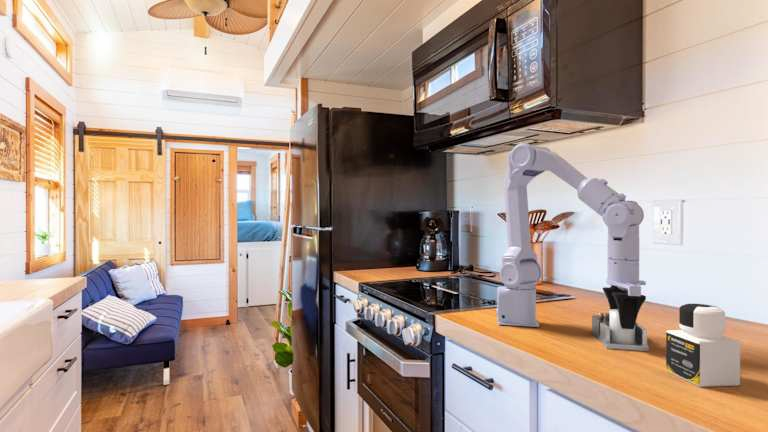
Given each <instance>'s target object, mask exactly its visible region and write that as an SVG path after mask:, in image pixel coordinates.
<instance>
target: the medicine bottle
mask: <svg viewBox="0 0 768 432" xmlns="http://www.w3.org/2000/svg"><path fill="white" fill-rule="evenodd" d="M665 334H666V335H665V336H666V337H665V338H666V339H665V345H666V346H665V352H666V353H665V355H666V356H665V357H666V358H665V370H666V372H668V373H670V374H672V375H674V376H676V377H678V378H680V379H681V380H684V381H686V382H688V383H691V384H692V385H695V386H696V387H699V388H706V387H708V388H709V387H710V388H711V387H732V386H733V387H735V386H736V387H738V386H740V384H741V342H740V340H738V339H735V338H732V337H729V336H725V334H726V312H725V311H724V310H723V309H722V308H720V307H717V306H716V305H712V304H711V305H710V304H704V303H703V304H702V303H686V304H683V305H681V306H679V329H668V330H666V333H665Z"/></svg>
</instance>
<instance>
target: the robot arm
mask: <svg viewBox="0 0 768 432" xmlns="http://www.w3.org/2000/svg"><path fill="white" fill-rule="evenodd" d="M546 171H548V172H550V173H551V174H554V175H555V176H556V177H558V178H559V179H560V180H563V181H564V182H565V183H566V184H568V185H569V186H571V187H572V188H574V189H575V190H576V191H577V198H578V200H580V201H581V202H583V203H584V204H585V205H586V206H587V207H589V208H590V209H591V210H593V211H594V212H595V213H596V214H598V215H599V216H600V217H602V221H603V223H604V224H605V226H606V228H607V277H606V284H607V285H609V287H602V290H603V292H604V294H605V297H606V299H607V302H608V305H609V310H611V309H618V312H619V320H620V325H621V328H622V329H634V326H635V323H636V322H637V317H638V315H639V312H640V309H641V307H642V305H643V304H644V302H645V301H646V300H647V296H646V295H644V294H642V286H646V285H647V283H646V281H645V280H640V224H641V223H642V222H643V220H644V217H645V214H644V210H643V208H642V206H641V205H640V204H639V203H638V202H637V201H635V200H626V197H627V196H626V195H625V194H624V193H619V192H618V191H616V190H614V189H613V188H612V187H610V186H609V185H608V184H609V182H608V181H607V180H606V179H604V178H600V179H599V178H597V177H593V178H588V177H587V176H585V175H584V174H583V173H582V172H581V171H579V170H578V169H576V167H575V166H573V165H572V164H571V163H569V162H568V161H567V160H565V158H563V157H562V156H560V154H558V152H555V151H552V150H551V148H550V149H549V148H548V147H546V146H538V145H532V144H529V143H526V142H521V143H518V144H517V145H515V146H514V147H513V148H512V149H511V150H510V152H509V153H508V154H507V167H506V170H505V173H504V176H503V177H504V178H503V193H504V203H505V204H504V206H505V221H506V223H505V224H506V235H507V237H506V238H507V250H506V251H505V252H504V254H503V255H502V256H501V266H500V268H499V277H500V279H501V282H502V283H503V284H504V286H497V296H496V297H497V300H496V302H497V306H496V309H495V313H496V315H495V316H496V318H497V319H496V320H497V325H500V326H514V327H515V326H517V327H532V328H533V327H536V328H539V327H540V324H539V322H538V321H537V316H536V315H537V309H536V308H537V300H536V299H537V289H536V288H537V286H538V285H537V283H538V282H539V281H540V279H541V278H542V267H541V265H540V263H539V262H538V255H537V253H536V252H535V250H533V248H532V242H531V229H530V227H531V226H530V216H529V215H530V214H529V201H528V187H527V186H528V185H529V184H530V182H532V181H533V180H534V178H536V177H538V176H540V175H541V174H543V173H545V172H546Z"/></svg>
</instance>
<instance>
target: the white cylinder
mask: <svg viewBox="0 0 768 432" xmlns="http://www.w3.org/2000/svg"><path fill="white" fill-rule="evenodd" d="M608 313H609V327H610V340H611V341H613V342H617V343H622V344H633V343H635V326H634V329H622V328H621V325H620V320H619V312H618V309H611V310H610V309H609V312H608Z"/></svg>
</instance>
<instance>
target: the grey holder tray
mask: <svg viewBox="0 0 768 432" xmlns="http://www.w3.org/2000/svg"><path fill="white" fill-rule="evenodd" d="M591 333H592V334H593V336H594V337H595V338H596V339H598V341H599V342H600V343H601V344H602V345H603V346H604V348H606V349H609V350H620V351H621V350H623V351H625V350H626V351H637V352H638V351H639V352H640V351H641V352H649V351H650V346H649V345H648V330H647V328H645V327H644V326H643V325H640V324H639V323H638V322H637V321H636V323H635V343H633V344H622V343H617V342H613V341H611V340H610V327H609V312H608V313H607V312H606V313H605V312H598V315H597V314H594V315H593V314H592V315H591Z"/></svg>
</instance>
